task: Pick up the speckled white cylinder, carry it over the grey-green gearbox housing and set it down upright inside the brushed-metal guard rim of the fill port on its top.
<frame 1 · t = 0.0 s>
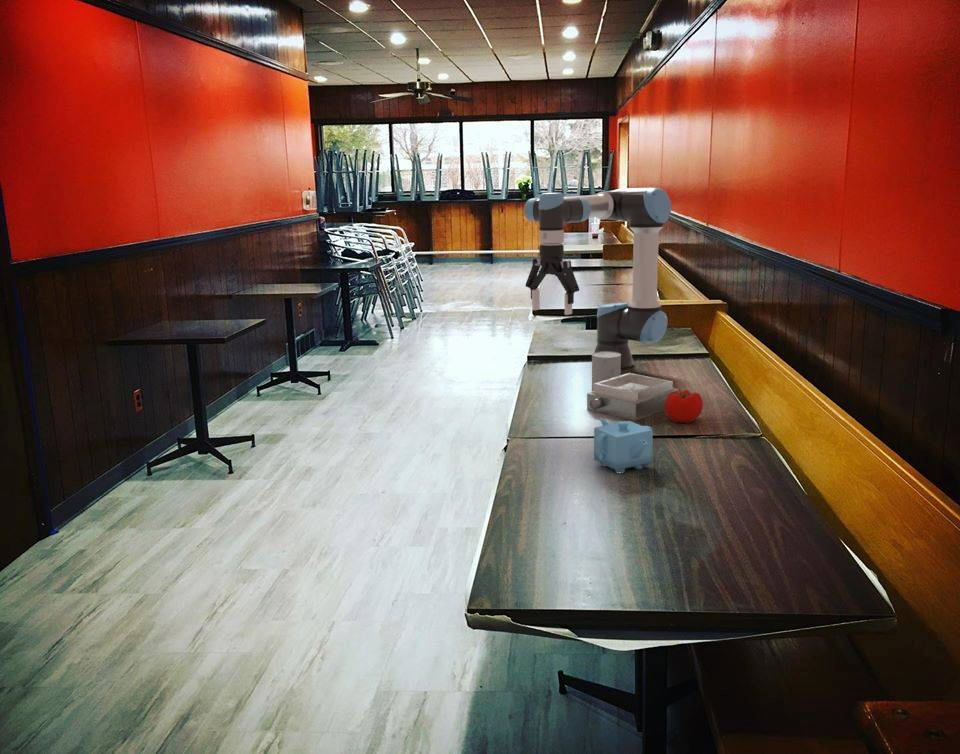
hand: (551, 312, 251), 28 cm above the table, fingers open, 13 cm apart
gearbox: (632, 406, 245), on the table
tomato: (682, 421, 230), on the table
teapot: (621, 466, 197), on the table
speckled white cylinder: (605, 391, 264), on the table
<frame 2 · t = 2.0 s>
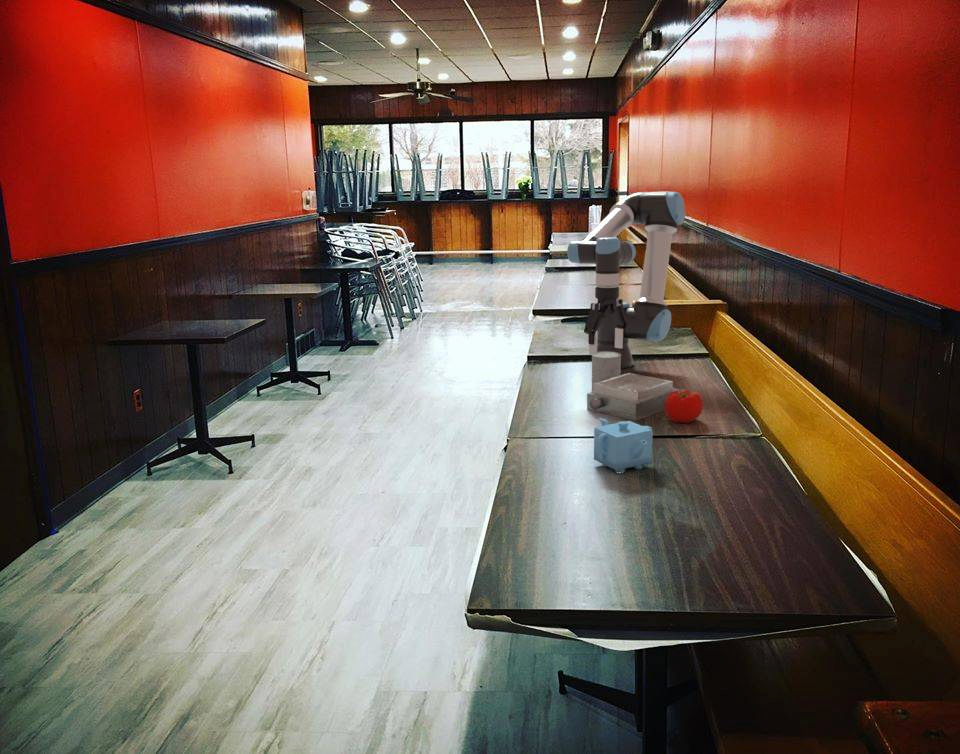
hand: (606, 351, 261), 13 cm above the table, fingers open, 13 cm apart
nothing on the table moved.
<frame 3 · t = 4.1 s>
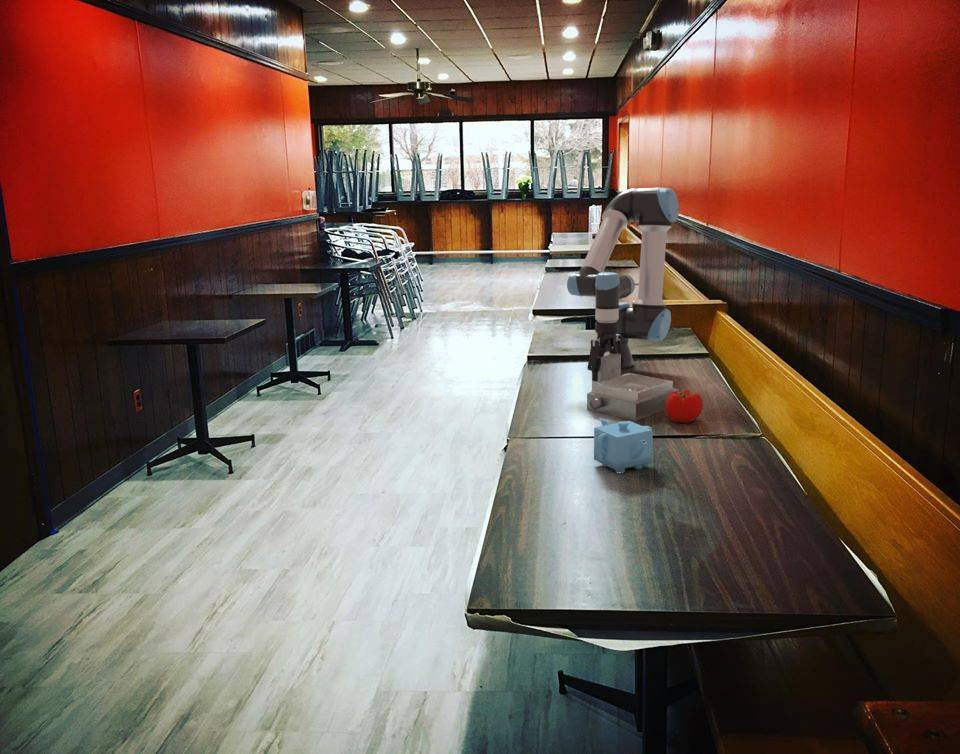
hand: (606, 387, 264), 1 cm above the table, fingers closed on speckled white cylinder, 9 cm apart
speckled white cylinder: (606, 391, 264), on the table, touching gripper
everything else where it was.
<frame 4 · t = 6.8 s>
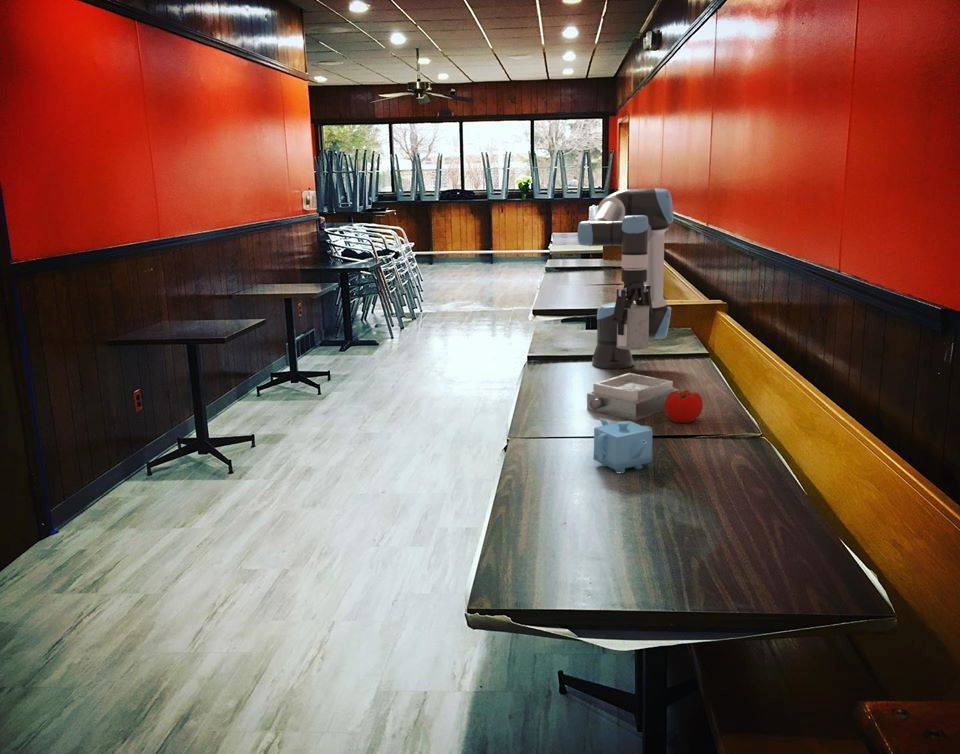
hand: (632, 343, 240), 20 cm above the table, fingers closed on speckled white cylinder, 9 cm apart
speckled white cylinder: (632, 347, 241), point 19 cm above the table, touching gripper
everything else where it was.
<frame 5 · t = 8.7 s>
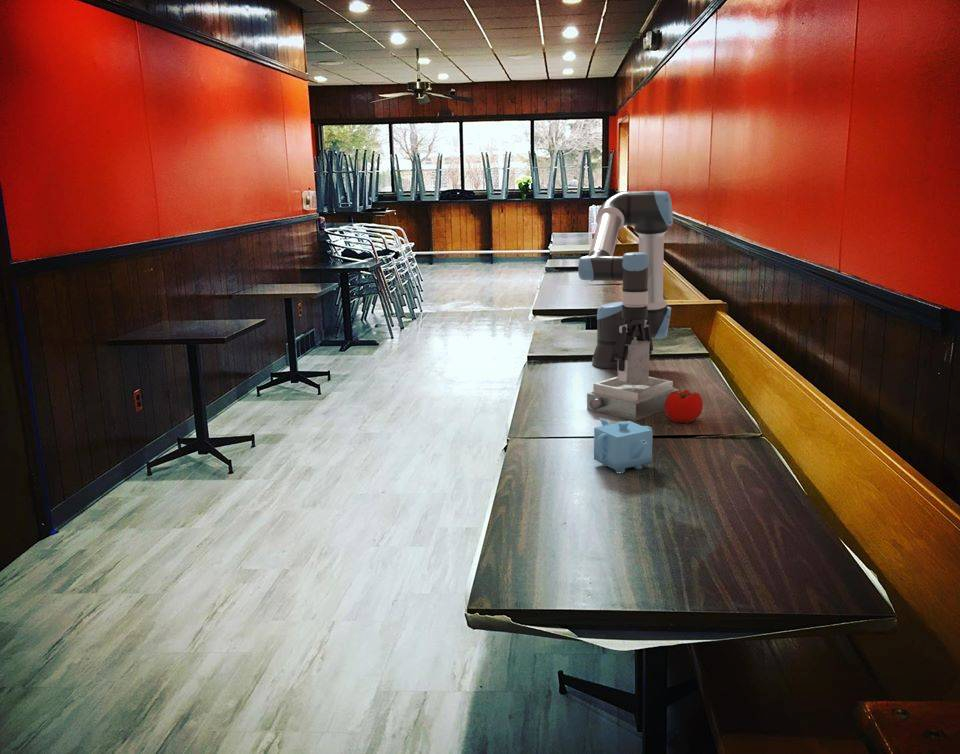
hand: (633, 377, 243), 9 cm above the table, fingers closed on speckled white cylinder, 9 cm apart
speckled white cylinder: (633, 381, 243), point 8 cm above the table, touching gripper
everything else where it was.
when the fingers open (8 cm above the table, at t = 9.9 s): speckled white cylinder drops 1 cm, resting on gearbox.
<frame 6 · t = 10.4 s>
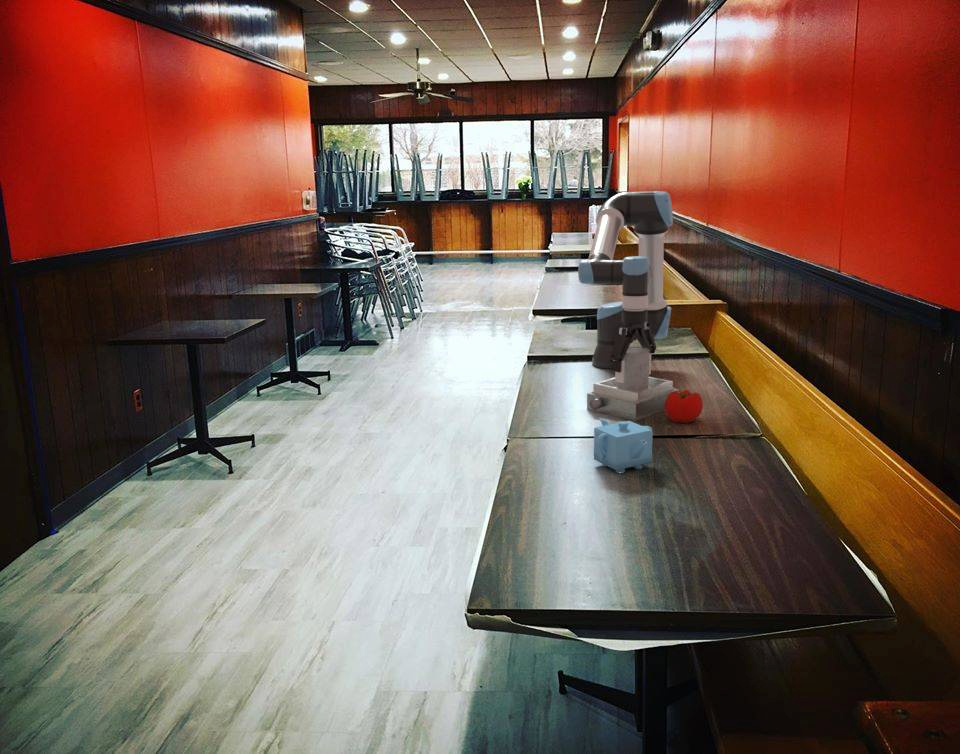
hand: (633, 378, 243), 9 cm above the table, fingers open, 13 cm apart
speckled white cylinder: (632, 389, 244), point 5 cm above the table, touching gearbox
everything else where it was.
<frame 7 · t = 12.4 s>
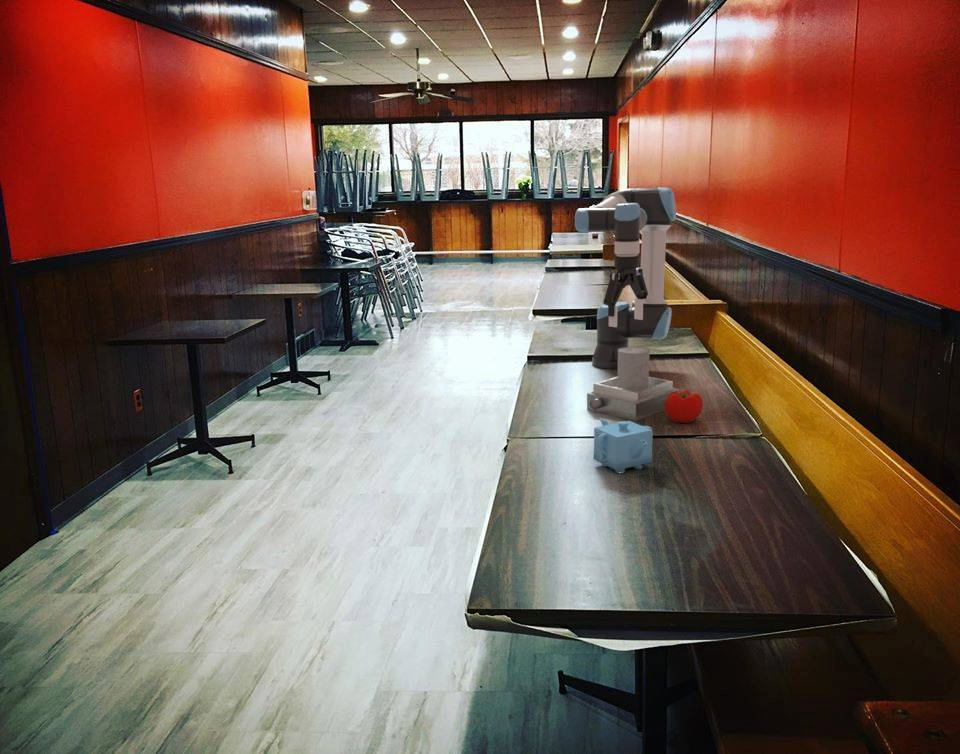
hand: (625, 322, 249), 24 cm above the table, fingers open, 13 cm apart
nothing on the table moved.
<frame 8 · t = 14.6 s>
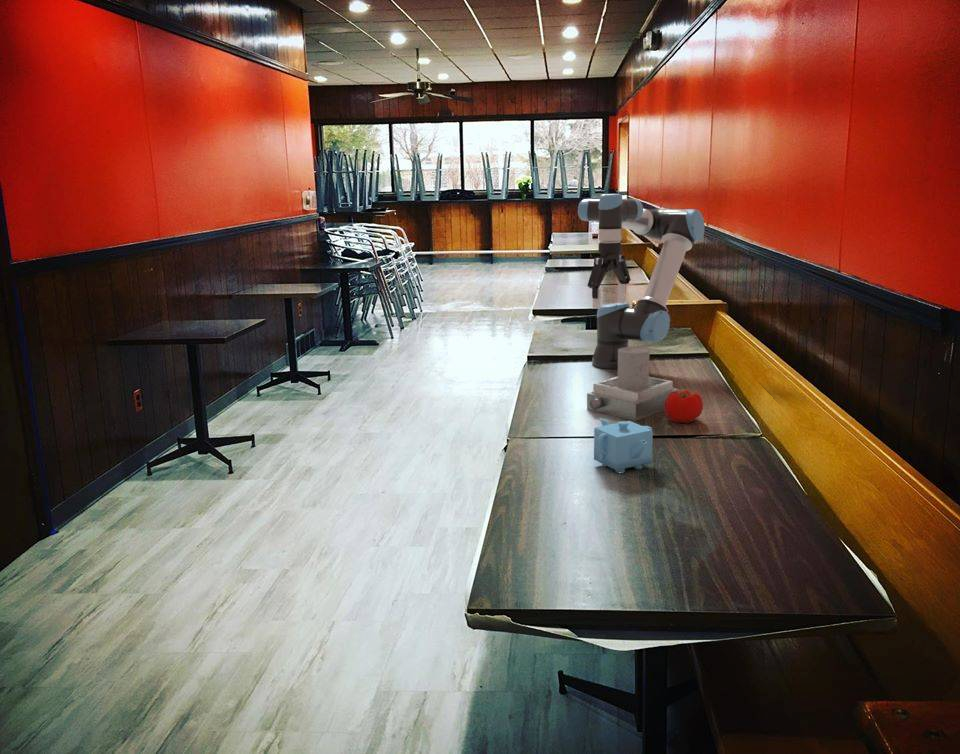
hand: (609, 305, 268), 27 cm above the table, fingers open, 13 cm apart
nothing on the table moved.
at the end: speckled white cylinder inside the target area on the gearbox (0.1 cm from its centre), point 5.4 cm above the gearbox's base; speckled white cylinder tilted 0°; the gripper is holding nothing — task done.
